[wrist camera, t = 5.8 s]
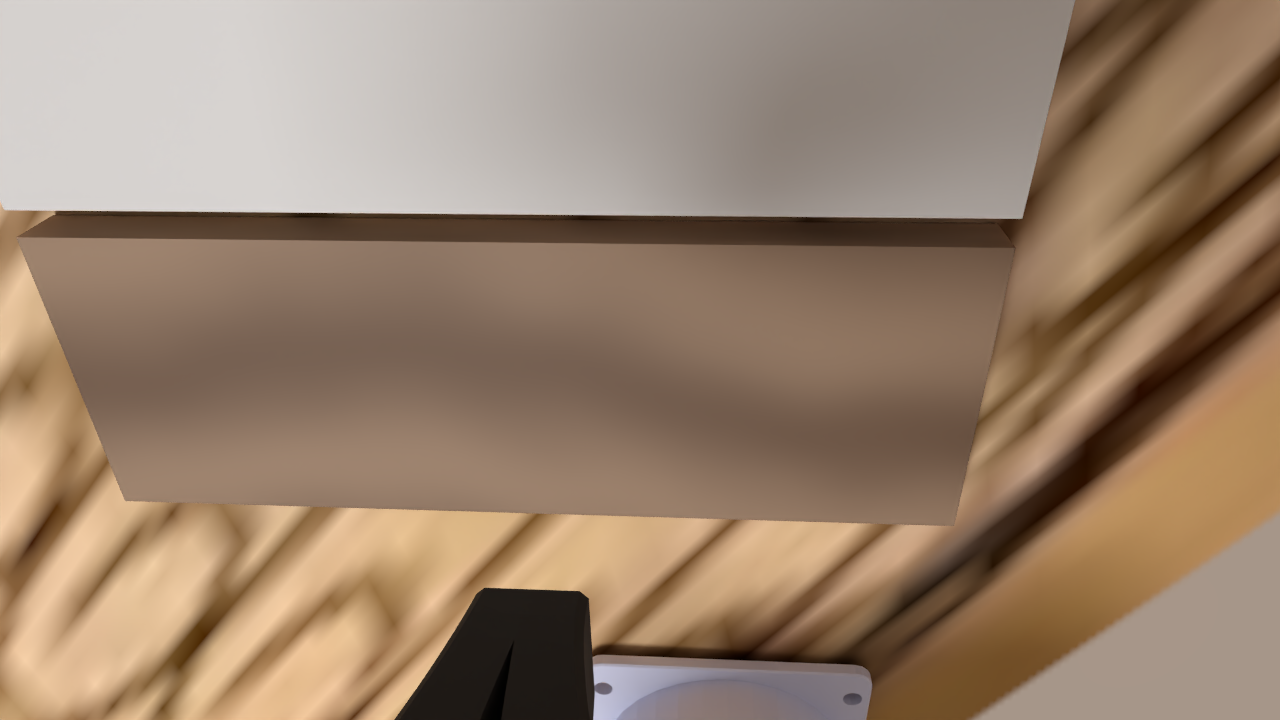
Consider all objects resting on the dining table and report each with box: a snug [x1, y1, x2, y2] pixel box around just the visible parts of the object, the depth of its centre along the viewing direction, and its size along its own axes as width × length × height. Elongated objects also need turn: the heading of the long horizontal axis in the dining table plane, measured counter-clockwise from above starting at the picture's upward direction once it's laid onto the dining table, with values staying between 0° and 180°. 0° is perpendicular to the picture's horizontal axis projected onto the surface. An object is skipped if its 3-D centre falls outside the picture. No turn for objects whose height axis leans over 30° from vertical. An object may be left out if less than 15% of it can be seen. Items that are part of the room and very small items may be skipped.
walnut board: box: [16, 215, 1015, 526], centre depth 20 cm, size 7×20×1 cm, turn 91°
